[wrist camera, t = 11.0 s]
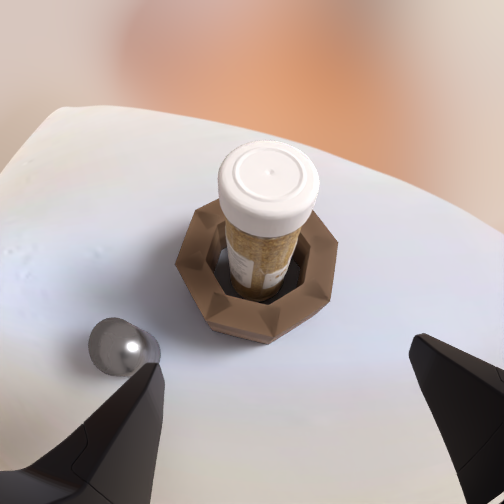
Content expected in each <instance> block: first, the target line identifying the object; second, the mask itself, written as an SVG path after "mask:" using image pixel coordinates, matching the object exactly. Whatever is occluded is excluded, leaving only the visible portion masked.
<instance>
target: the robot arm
mask: <svg viewBox="0 0 504 504" xmlns="http://www.w3.org/2000/svg"><path fill="white" fill-rule="evenodd" d="M409 359H410V362H411V364H412V367H413V370H414V372H415V375H416V378H417V380H418V383H419V386H420V389H421V391H422V393H423V395H424V397H425V400H426V402H427V404H428V406H429V408H430V410H431V412H432V415H433V417H434V419H435V421H436V424H437V426H438V428H439V431H440V433H441V435H442V438H443V440H444V442H445V445H446V447H447V450H448V452H449V455H450V457H451V460H452V462H453V465H454V468H455V470H456V473H457V476H458V479H459V482H460V485H461V487H462V490H463V493H464V496H465V499H466V503H467V504H487V503H489V502H490V501H492V500H493V499H494V498H496V497H497V496H498V495H500V494H501V493H502V492H504V370H502V369H500V368H498V367H495V366H494V365H491V364H489V363H487V362H485V361H483V360H481V359H479V358H476V357H474V356H472V355H470V354H468V353H466V352H464V351H462V350H459V349H457V348H455V347H453V346H451V345H449V344H447V343H445V342H442V341H440V340H438V339H436V338H434V337H432V336H430V335H427V334H425V333H422V334H418V335H415V337H414V338H413V341H412V344H411V347H410V350H409ZM164 390H165V381H164V378H163V374H162V371H161V368H160V365H159V364H158V363H156V362H147V363H145V364H144V365H143V366H142V367H141V368H140V369H139V370H138V371H137V372H136V373H135V374H134V375H133V376H131V377H130V378H129V379H128V380H127V381H126V382H125V383H124V384H123V385H122V386H121V387H120V388H119V389H118V390H117V391H116V392H115V393H114V394H113V395H112V396H111V397H110V398H109V399H108V400H107V401H105V402H104V403H103V404H102V405H101V406H100V407H99V408H98V409H97V410H96V411H95V412H94V413H93V414H92V415H91V416H90V417H89V418H88V419H87V420H86V421H85V422H84V424H81V425H80V426H79V427H78V428H77V429H76V430H75V431H74V432H73V433H72V434H71V435H69V436H68V437H67V438H66V439H65V440H64V441H62V442H61V443H60V444H59V445H57V446H56V447H55V448H53V449H52V450H51V451H49V452H48V453H47V454H45V455H44V456H43V457H41V458H40V459H39V460H37V461H36V462H34V463H33V464H32V465H30V466H28V467H26V468H24V469H21V470H15V471H0V504H150V499H151V492H152V485H153V478H154V471H155V465H156V459H157V452H158V447H159V441H160V435H161V429H162V421H163V405H164ZM499 504H504V500H503V501H501V502H500V503H499Z"/></svg>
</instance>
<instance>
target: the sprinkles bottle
mask: <svg viewBox="0 0 504 504" xmlns="http://www.w3.org/2000/svg"><path fill="white" fill-rule="evenodd" d="M318 191H319V177H318V173H317V170H316V168H315V166H314V165H313V163H312V162H311V160H310V159H309V158H308V157H307V156H306V155H305V154H304V153H303V152H301V151H300V150H298V149H296V148H295V147H293V146H290V145H288V144H285V143H282V142H278V141H270V140H263V141H254V142H250V143H247V144H244V145H241V146H239V147H238V148H236V149H234V150H233V151H232V152H231V153H229V154H228V155H227V156H226V158H225V159H224V160H223V162H222V164H221V166H220V168H219V172H218V193H219V201H220V206H221V209H222V211H223V213H224V215H225V223H226V225H225V234H226V241H227V249H228V258H229V266H230V270H231V272H230V277H231V283H232V286H233V288H234V289H235V291H236V292H237V293H238V294H239V295H240V296H242V297H243V298H245V299H248V300H251V301H254V302H259V301H264V300H267V299H270V298H271V297H273V296H275V295H276V294H277V293H278V291H279V290H280V289H281V287H282V284H283V282H284V276H285V274H286V272H287V269H288V266H289V263H290V260H291V257H292V255H293V252H294V249H295V247H296V244H297V240H298V235H299V233H300V230H301V227H302V225H303V224H304V223H305V222H306V221H307V219H308V218H309V216H310V214H311V212H312V209H313V207H314V204H315V201H316V198H317V194H318Z"/></svg>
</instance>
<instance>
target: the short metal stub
mask: <svg viewBox="0 0 504 504" xmlns="http://www.w3.org/2000/svg"><path fill="white" fill-rule="evenodd" d="M88 348H89V354H90V357H91V359H92V361H93V363H94V365H95V366H96V367H97V368H98V369H99V370H100V371H102V372H103V373H105V374H108V375H113V376H133V375H134V374H135V373H136V372H137V371H138V370H139V369H140V368H141V367H142V366H143V365H144V364H145V363H147V362H156V363H158V364H159V362H160V357H161V351H160V347H159V344H158V342H157V340H156V339H155V338H154V337H153V336H152V335H151V334H150V333H148V332H146V331H144V330H142V329H140V328H138V327H136V326H134V325H132V324H131V323H129V322H127V321H125V320H123V319H120V318H107V319H104V320H102V321H101V322H99V323H98V324H97V325H96V326H95V327H94V329H93V330H92V332H91V334H90V338H89V343H88Z"/></svg>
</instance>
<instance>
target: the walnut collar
mask: <svg viewBox="0 0 504 504" xmlns="http://www.w3.org/2000/svg"><path fill="white" fill-rule="evenodd" d="M225 225H226V223H225V215H224V213H223V211H222V209H221V206H220V201H219V199H217V200H215V201H213V202H211V203H209V204H207V205H205V206H203V207H201V208H199V209H197V210H195V212H194V215H193V217H192V220H191V222H190V225H189V228H188V230H187V233H186V236H185V238H184V241H183V244H182V246H181V249H180V252H179V254H178V257H177V260H176V263H175V265H176V267H177V269H178V271H179V273H180V274H181V276H182V278H183V280H184V282H185V284H186V286H187V288H188V290H189V291H190V293H191V295H192V297H193V299H194V301H195V302H196V304H197V306H198V308H199V310H200V311H201V313H202V315H203V317H204V318H205V321H206V322H207V323H208V325H209V326H210V328H211V329H212V330H213V331H216V332H220V333H224V334H228V335H232V336H236V337H240V338H244V339H248V340H252V341H256V342H260V343H265V344H270V343H271V342H273V341H275V340H276V339H278V338H280V337H281V336H283V335H284V334H286V333H288V332H289V331H291V330H292V329H294V328H295V327H297V326H299V325H300V324H302V323H303V322H305V321H306V320H308V319H309V318H311V317H312V316H314V315H315V314H317V313H318V312H319V311H320V310H321V309H322V308H323V307H324V306H325V305H326V304H328V303H329V302H330V298H331V292H332V285H333V278H334V271H335V263H336V255H337V247H338V242H337V240H336V239H335V238H334V236H333V235H332V234H331V233H330V231H329V230H328V229H327V227H326V226H325V225H324V224H323V222H322V221H321V220H320V218H319V217H318V216H317V215H316V213H315V212H314V211H313V210H312V212H311V214H310V216H309V218H308V219H307V221H306V222H305V223H304V224H303V225H302V227H301V230H300V233H299V235H298V240H297V244H296V247H295V249H294V252H293V255H292V258H293V259H294V261H295V262H296V264H297V265H298V266H299V268H300V271H299V276H298V281H297V286H296V289H294V290H293V291H291V292H289V293H288V294H286V295H284V296H283V297H281V298H280V299H278V300H276V301H275V302H273V303H271V304H270V305H265V304H261V303H257V302H253V301H249V300H245V299H240V298H236V297H232V296H228V295H225V293H224V291H223V289H222V288H221V286H220V284H219V283H218V281H217V279H216V278H215V276H214V272H215V269H216V266H217V262H218V259H219V256H220V253H221V250H222V249H224V248H226V247H227V241H226V234H225Z"/></svg>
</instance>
